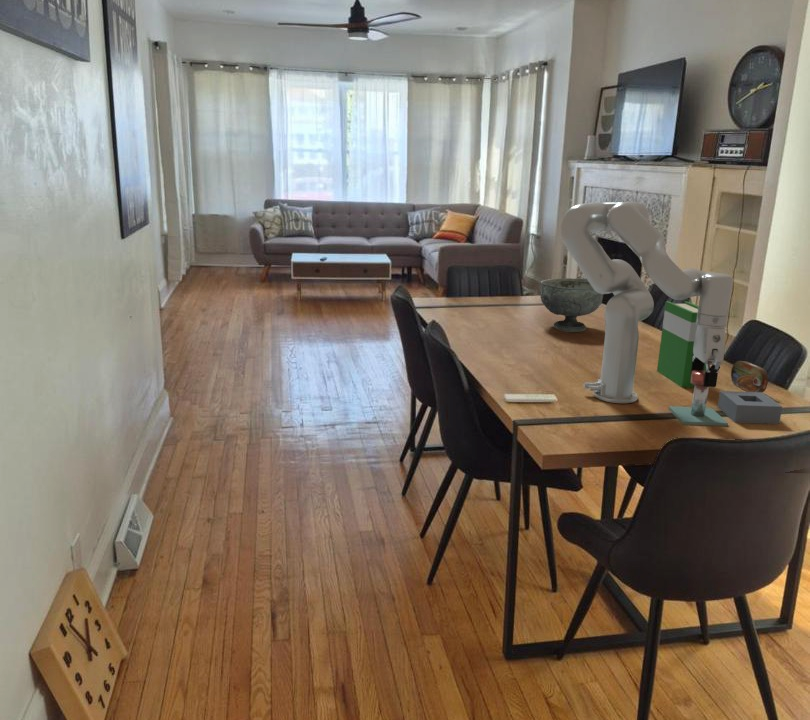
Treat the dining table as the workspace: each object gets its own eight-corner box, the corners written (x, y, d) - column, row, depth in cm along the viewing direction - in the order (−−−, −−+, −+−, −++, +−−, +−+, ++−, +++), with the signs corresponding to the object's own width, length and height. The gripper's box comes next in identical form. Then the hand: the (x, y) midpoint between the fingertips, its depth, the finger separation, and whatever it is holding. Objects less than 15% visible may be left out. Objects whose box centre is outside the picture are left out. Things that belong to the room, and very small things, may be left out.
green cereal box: (656, 371, 238) (665, 301, 231) (677, 370, 238) (687, 301, 232) (681, 387, 221) (692, 312, 214) (704, 387, 221) (715, 312, 215)
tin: (728, 382, 227) (732, 357, 225) (737, 382, 228) (741, 357, 225) (757, 397, 213) (762, 371, 210) (767, 397, 213) (771, 371, 211)
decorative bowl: (608, 336, 281) (612, 286, 276) (544, 335, 281) (547, 286, 277) (593, 323, 307) (596, 277, 302) (534, 323, 307) (536, 277, 302)
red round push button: (712, 418, 192) (719, 376, 189) (690, 417, 192) (696, 375, 189) (704, 411, 198) (710, 370, 194) (682, 410, 198) (688, 369, 195)
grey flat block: (734, 422, 192) (737, 405, 191) (717, 407, 203) (720, 390, 202) (779, 423, 192) (782, 406, 190) (759, 408, 203) (762, 392, 202)
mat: (682, 424, 190) (683, 421, 189) (668, 408, 201) (669, 406, 201) (727, 425, 189) (728, 423, 189) (711, 410, 201) (711, 407, 200)
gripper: (739, 328, 179) (729, 391, 184) (713, 313, 196) (705, 372, 200) (709, 327, 179) (700, 390, 184) (686, 312, 196) (678, 371, 201)
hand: (702, 380), depth 192 cm, fingers open, 9 cm apart
